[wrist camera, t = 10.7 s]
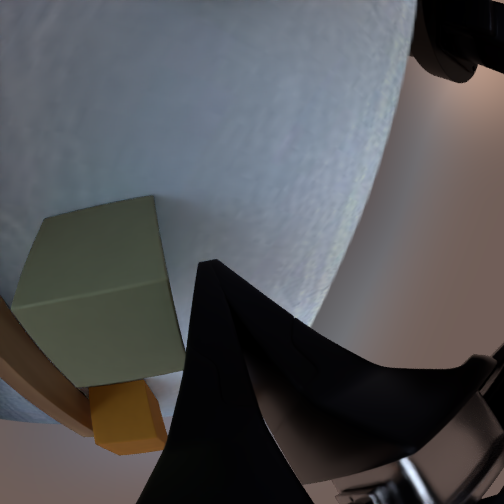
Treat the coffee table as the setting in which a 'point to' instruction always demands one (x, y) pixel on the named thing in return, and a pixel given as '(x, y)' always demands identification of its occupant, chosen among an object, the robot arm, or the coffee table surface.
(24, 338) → the straightedge
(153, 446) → the block saffron
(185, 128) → the coffee table surface
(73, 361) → the block sage
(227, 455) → the robot arm
